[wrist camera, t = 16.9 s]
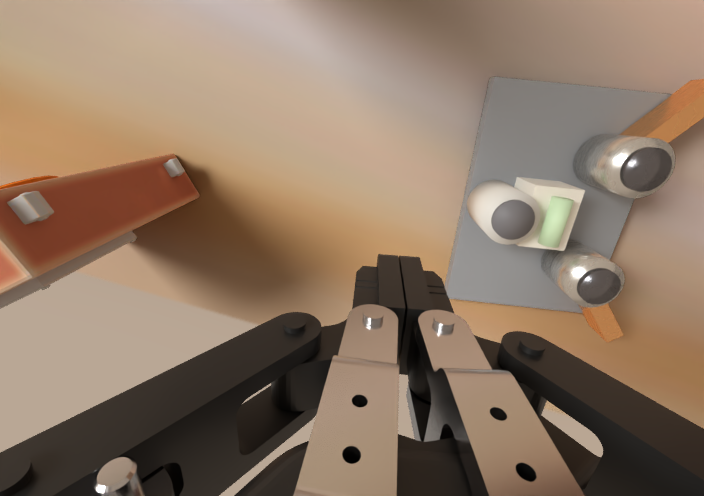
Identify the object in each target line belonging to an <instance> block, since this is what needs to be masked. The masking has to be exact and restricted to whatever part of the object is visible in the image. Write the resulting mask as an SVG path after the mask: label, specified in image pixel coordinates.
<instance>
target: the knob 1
mask: <svg viewBox="0 0 704 496" xmlns="http://www.w3.org/2000/svg"><path fill="white" fill-rule="evenodd" d="M541 267H542V270H543V272H544V274H545V275H546V276H547V277H549V278H550V279H551V280H552V281H553V282H554V283H555V284H556V285H557V286H558V287H559V288H560V289H561V290H562V291H563V292H565V293H566V294H567V295H568V296H569V297H570V298H571V299H572V300H573V301H574V302H575V303H577V304H578V305H579V307H580V309H581V311H582V313H583V315H584V316H585V318H586V320H587V322H588V324H589V325H590V326H591V327H592V328H593V329H594V330H595V331H596V332H597V333H598V334H599V335H600V336H601V337H602V338H603V339H604V340H605V341H606V342H607V343H608V342H610V341H612V340H614V339H617V338H619V337H621V336H623V333H622V331H621V329H620V327H619V325H618V323H617V321H616V319H615V317H614V315H613V313H612V311H611V309H610V307H609V305H608V303H609V302H611V301H612V300H613V299H615V298H616V297H617V296H618V295H619V293H620V292H621V290H622V288H623V286H624V281H625V277H624V273H623V271H622V269H621V268H620V267H619V266H618V265H616V264H615V263H613V262H611V261H610V260H608V259H607V258H605V257H603V256H602V255H600V254H599V253H597V252H595V251H594V250H592V249H591V248H589V247H587V246H586V245H584V244H583V243H581V242H579V241H577V240H573V239H568V242H567V245H566V247H565V250H564V251H561V250H551V249H547V250H546V251H545V252H544V254H543V256H542V259H541Z"/></svg>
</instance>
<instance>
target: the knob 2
mask: <svg viewBox="0 0 704 496" xmlns="http://www.w3.org/2000/svg"><path fill="white" fill-rule="evenodd" d="M702 118H704V79H700V80H691V81H689V82H688V83H687V84H685V85H684V86H683V87H681V88H680V89H679V90H677V91H676V92H675V93H673V94H672V95H671V96H669V97H668V98H667V99H665V100H664V101H663V102H662V103H660V104H659V105H658V106H656V107H655V108H654V109H652V110H651V111H650V112H648V113H647V114H646V115H644V116H643V117H642V118H640V119H639V120H638V121H636V122H635V123H634V124H633V125H631V126H630V127H629V128H627V129H626V130H625V131H623V132H622V133H621V134H619V135H614V134H600V135H596V136H594V137H592V138H590V139H588V140H587V141H586V142H584V143H583V144H582V145H581V146H580V148H579V149H578V151H577V152H576V154H575V157H574V161H573V170H574V173H575V175H576V177H577V178H578V179H579V180H580V181H581V182H583V183H585V184H588V185H591V186H594V187H597V188H600V189H603V190H606V191H609V192H612V193H615V194H618V195H621V196H624V197H628V198H642V197H645V196H648V195H650V194H652V193H654V192H656V191H657V190H659V189H660V188H661V187H662V186H663V185H664V184H665V183H666V182H667V181H668V180H669V178H670V176H671V175H672V173H673V170H674V167H675V153H674V151H673V149H672V147H671V146H670V145H669V144H668V143H669V142H670V141H672V140H673V139H675V138H676V137H677V136H679V135H680V134H682V133H683V132H684V131H686V130H687V129H689V128H690V127H691V126H693V125H694V124H695V123H697V122H698V121H700V120H701V119H702Z"/></svg>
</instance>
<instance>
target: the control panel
mask: <svg viewBox="0 0 704 496" xmlns="http://www.w3.org/2000/svg"><path fill="white" fill-rule="evenodd" d="M199 197H200V195H199V193H198V191H197V190H196V188H195V187H194V185H193V183H192V182H191V180H190V178H189V177H188V175H187V174H186V172H185V170H184V169H183V167H182V165H181V164H180V162H179V160H178V159H177V158H176V156H175V155H174V154H169V155H165V156H160V157H155V158H150V159H145V160H140V161H136V162H131V163H126V164H121V165H116V166H111V167H106V168H102V169H97V170H92V171H87V172H82V173H77V174H73V175H68V176H63V177H58V176H41V177H34V178H30V179H25V180H21V181H17V182H12V183H9V184H6V185H2V186H0V309H1V308H3V307H5V306H7V305H9V304H11V303H13V302H15V301H17V300H19V299H21V298H23V297H25V296H28V295H30V294H32V293H34V292H36V291H38V290H40V289H42V290H44V289H47V288H48V287H50V284H51V283H54V282H55V281H57V280H59V279H61V278H63V277H65V276H67V275H69V274H70V273H72V272H74V271H76V270H78V269H80V268H82V267H84V266H85V265H87V264H89V263H91V262H93V261H95V260H97V259H99V258H101V257H102V256H104V255H106V254H108V253H110V252H112V251H114V250H116V249H117V248H119V247H121V246H123V245H125V244H127V243H129V242H130V243H131V242H134V241H135V239H136V238H137V237H136V235H135V234H134V232H133V231H132V230H134V229H136V228H138V227H140V226H142V225H144V224H147V223H149V222H151V221H153V220H155V219H157V218H159V217H161V216H163V215H165V214H167V213H169V212H171V211H173V210H175V209H177V208H179V207H181V206H183V205H185V204H187V203H189V202H191V201H193V200H195V199H197V198H199Z"/></svg>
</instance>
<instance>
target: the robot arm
mask: <svg viewBox="0 0 704 496" xmlns="http://www.w3.org/2000/svg"><path fill="white" fill-rule="evenodd" d="M399 374H405V375H408V379H409V382H408V388H407V394H406V396H407V402H408V407H409V412H410V417H411V423H412V427H413V432H414V438H415V440H414V439H411V438H408V437H405V436H402V435H399V434H398V398H399V397H398V396H399ZM270 383H271V386H270V387H268V388H267V389H265V390H263V391H262V392H260V393H259V394H257V395H256V396H254V397H253V398H251V399H250V400H248V401H247V402H245V403H243V402H244V401H245V400H246V399H247V398H248V397H250V396H251V395H253V394H254V393H256V392H258V391H259V390H261V389H262V388H264V387H265V386H267V385H268V384H270ZM547 400H548V401H549V402H550V403H552V404H553V405H555V406H556V407H558V408H559V409H561V410H562V411H563V412H565V413H566V414H568V415H569V416H571V417H572V418H573V419H575V420H576V421H578V422H579V423H581V424H582V425H584V426H585V427H587V428H588V429H589V430H591V431H592V432H593V433H594V434H595V435H596V436H597V437H598V439H599V440H600V442H601V444H602V446H603V455H602V457H598V456H596V455H594V454H593V453H591V452H590V451H588V450H587V449H586V448H585V447H583V446H582V445H580V444H579V443H578V442H576V441H575V440H574V439H572V438H571V437H570V436H568V435H567V434H565V433H564V432H563V431H562V430H560V429H559V428H557V427H556V426H555V425H553V424H552V423H551V422H549V421H548V420H546V419H545V418H544V417H543V416H541V414H542V411H543V409H544V406H545V403H546V401H547ZM242 403H243V404H242ZM241 404H242V405H241ZM316 414H317V415H316ZM315 416H316V418H315V422H314V425H313V429H312V432H311V436H310V439H309V441H307V442H305V443H302V444H300V445H298V446H295V447H294V448H292V449H290V450H288V451H286V452H285V453H283V454H282V455H280V456H279V457H277V458H276V459H275V460H274V461H273V462H271V463H270V464H269V465H268V466H267V467H266V468H265V469H264V470H262V471H261V472H260V473H259V474H258V475H257V476H256V477H254V478H253V479H252V480H251V481H250V482H249V483H248V484H247V485H246V486H244V488H242V489H241V490H240V491H239V492H238V493H237V494H236V495H235V496H704V429H703V428H701V427H699V426H697V425H696V424H694V423H692V422H690V421H689V420H687V419H685V418H683V417H681V416H680V415H678V414H676V413H674V412H673V411H671V410H669V409H667V408H665V407H664V406H662V405H660V404H658V403H657V402H655V401H653V400H651V399H650V398H648V397H646V396H644V395H642V394H641V393H639V392H637V391H635V390H634V389H632V388H630V387H628V386H627V385H625V384H623V383H621V382H619V381H618V380H616V379H614V378H612V377H611V376H609V375H607V374H605V373H604V372H602V371H600V370H598V369H596V368H595V367H593V366H591V365H589V364H588V363H586V362H584V361H582V360H581V359H579V358H577V357H575V356H573V355H572V354H570V353H568V352H566V351H565V350H563V349H561V348H559V347H558V346H556V345H554V344H552V343H550V342H549V341H547V340H545V339H543V338H541V337H539V336H537V335H534V334H531V333H526V332H518V331H516V332H509V333H507V334H505V335H504V336H503V338H502V341H501V344H500V343H497V342H493V341H490V340H486V339H483V338H480V337H477V336H475V335H474V334H473V333H472V331H471V329H470V327H469V325H468V324H467V322H466V321H465V320H464V319H463V318H461V317H460V316H458V315H456V314H454V311H453V309H452V306H451V303H450V300H449V298H448V295H447V292H446V289H445V288H444V284H443V281H442V279H441V278H440V277H439V276H438V275H437V274H436V273H434V272H433V271H423V268H422V264H421V261H420V258H419V257H409V256H399V258H398V256H395V255H382V254H378V259H377V267H370V266H363V267H361V268H360V269H359V270H358V271H357V273H356V282H355V291H354V299H353V308H352V310H351V311H350V312H349V315H348V319H347V320H345V321H343V322H341V323H339V324H336V325H331V326H324V327H321V323H320V322H319V320H318V319H317V318H315V317H314V316H312V315H310V314H307V313H301V312H292V313H286V314H282V315H280V316H278V317H276V318H274V319H271V320H269V321H267V322H265V323H263V324H261V325H259V326H257V327H255V328H253V329H251V330H249V331H247V332H245V333H243V334H241V335H239V336H237V337H235V338H233V339H231V340H229V341H227V342H225V343H223V344H221V345H219V346H217V347H214V348H213V349H211V350H208V351H207V352H204V353H202V354H200V355H198V356H196V357H194V358H192V359H190V360H188V361H186V362H184V363H182V364H180V365H178V366H176V367H174V368H172V369H170V370H168V371H166V372H164V373H162V374H160V375H158V376H155V377H153V378H152V379H149V380H147V381H145V382H143V383H141V384H139V385H137V386H135V387H133V388H131V389H129V390H127V391H125V392H123V393H121V394H119V395H117V396H115V397H113V398H111V399H109V400H107V401H105V402H103V403H100V404H98V405H96V406H94V407H93V408H90V409H88V410H86V411H84V412H82V413H80V414H78V415H76V416H74V417H72V418H70V419H68V420H66V421H64V422H62V423H60V424H58V425H56V426H54V427H52V428H50V429H48V430H46V431H43V432H41V433H39V434H37V435H35V436H33V437H31V438H29V439H27V440H25V441H23V442H21V443H19V444H17V445H15V446H13V447H11V448H9V449H7V450H5V451H3V452H1V453H0V496H219V495H220V494H221V493H222V492H224V491H225V490H226V489H227V488H229V486H231V485H232V484H233V483H235V482H236V481H237V480H238V479H239V478H241V477H242V476H243V475H244V474H246V473H247V472H248V471H249V470H251V469H252V468H253V467H254V466H255V465H257V464H258V463H259V462H260V461H261V460H263V459H264V458H265V457H266V456H268V455H269V454H270V453H271V452H273V451H274V450H275V449H276V448H277V447H279V446H280V445H281V444H282V443H284V442H285V441H286V440H287V439H288V438H290V437H291V436H292V435H293V434H295V433H296V432H297V431H298V430H300V429H301V428H302V427H303V426H305V425H306V424H307V423H308V422H309V421H311V420H312V419H313V418H314V417H315Z"/></svg>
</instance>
